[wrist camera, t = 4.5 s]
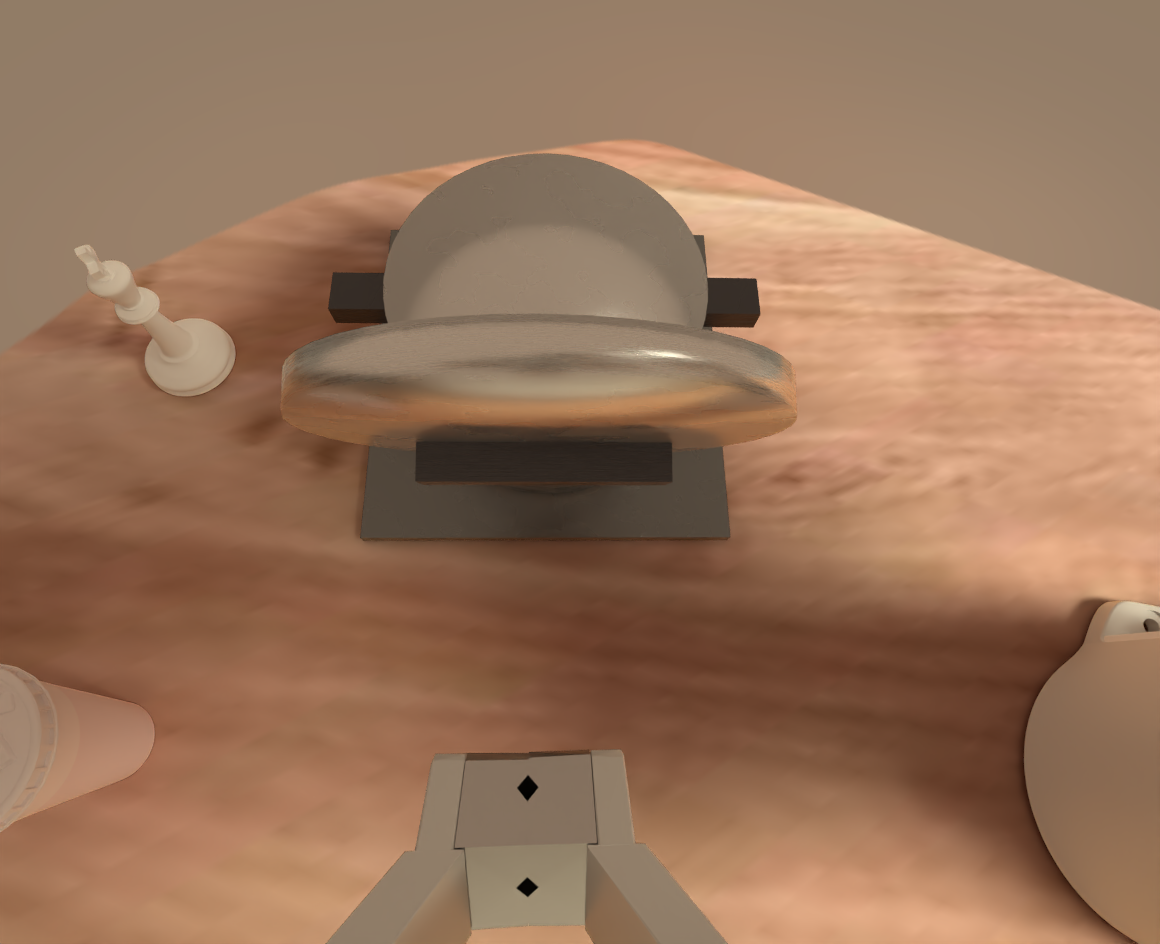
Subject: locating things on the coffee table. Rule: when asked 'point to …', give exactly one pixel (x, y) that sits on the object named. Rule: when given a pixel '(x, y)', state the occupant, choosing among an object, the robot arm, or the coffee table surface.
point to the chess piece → (163, 331)
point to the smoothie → (63, 743)
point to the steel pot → (545, 286)
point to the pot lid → (538, 395)
